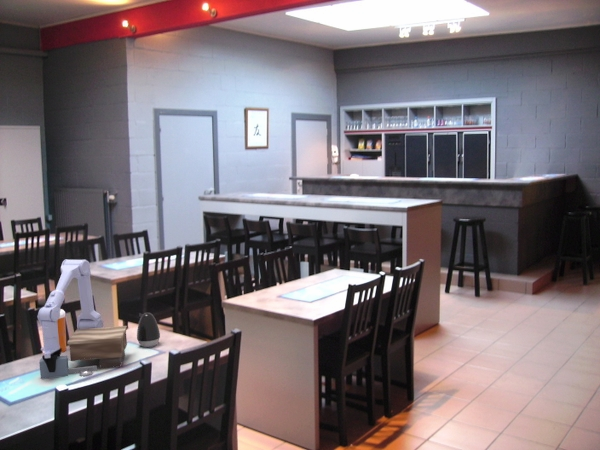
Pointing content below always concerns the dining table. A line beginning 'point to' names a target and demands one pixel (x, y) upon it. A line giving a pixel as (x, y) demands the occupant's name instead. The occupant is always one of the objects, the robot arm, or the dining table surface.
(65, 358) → the grey block with tab
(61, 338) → the shaker bottle
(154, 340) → the black egg-shaped piece
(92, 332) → the cabinet
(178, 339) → the dining table surface
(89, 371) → the steel token
